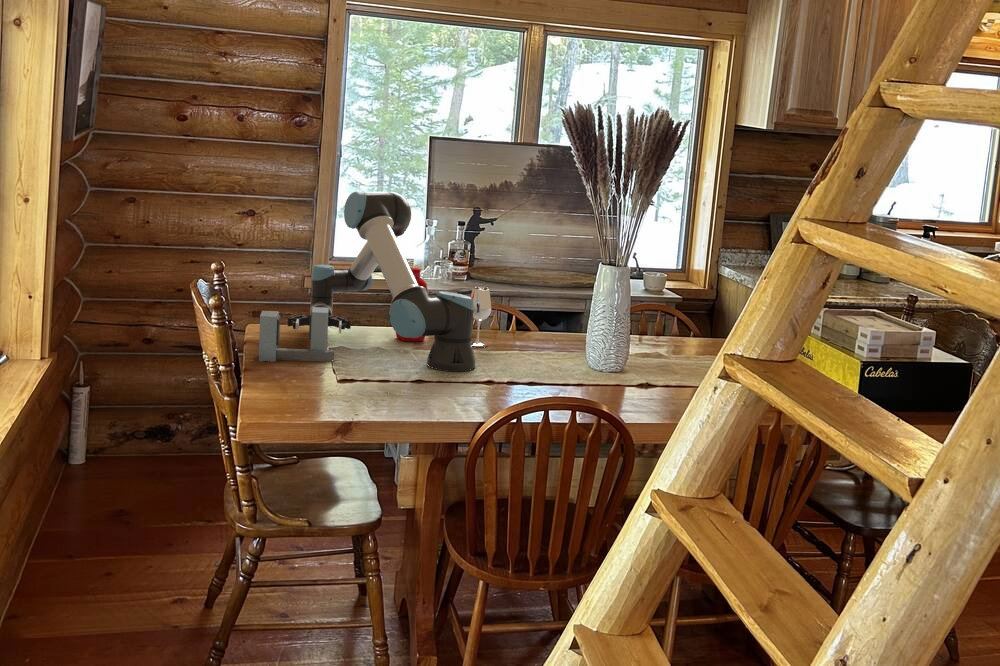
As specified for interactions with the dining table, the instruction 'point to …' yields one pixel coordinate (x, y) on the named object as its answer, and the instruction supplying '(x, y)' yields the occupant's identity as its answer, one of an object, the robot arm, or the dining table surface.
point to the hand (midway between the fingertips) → (318, 328)
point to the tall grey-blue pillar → (318, 328)
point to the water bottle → (422, 283)
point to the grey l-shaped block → (271, 352)
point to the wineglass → (480, 308)
